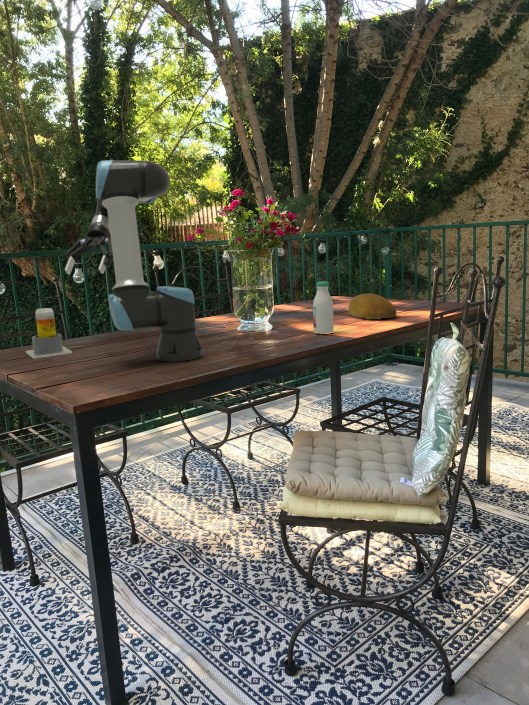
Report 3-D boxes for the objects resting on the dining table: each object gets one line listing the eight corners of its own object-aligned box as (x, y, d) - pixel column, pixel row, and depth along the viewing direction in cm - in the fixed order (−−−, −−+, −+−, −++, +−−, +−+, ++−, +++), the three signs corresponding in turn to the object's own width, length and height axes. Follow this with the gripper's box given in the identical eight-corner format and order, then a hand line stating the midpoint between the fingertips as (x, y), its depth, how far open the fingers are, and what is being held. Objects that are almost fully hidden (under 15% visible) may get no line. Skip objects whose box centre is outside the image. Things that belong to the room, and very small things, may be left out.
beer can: (51, 352, 204) (46, 310, 201) (36, 352, 205) (31, 310, 202) (61, 349, 210) (56, 307, 207) (46, 349, 211) (41, 308, 208)
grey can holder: (71, 353, 206) (70, 335, 204) (33, 358, 199) (31, 340, 197) (62, 348, 216) (60, 331, 215) (26, 352, 210) (23, 335, 208)
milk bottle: (336, 332, 225) (336, 281, 221) (328, 335, 219) (327, 282, 215) (319, 331, 229) (318, 280, 225) (310, 334, 223) (308, 282, 219)
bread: (375, 310, 285) (375, 289, 283) (403, 320, 251) (403, 296, 249) (339, 312, 282) (338, 291, 280) (363, 322, 248) (362, 299, 246)
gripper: (133, 235, 225) (119, 277, 214) (75, 238, 230) (58, 279, 219) (125, 221, 219) (111, 264, 207) (66, 224, 224) (48, 265, 213)
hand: (83, 271), depth 213 cm, fingers open, 13 cm apart
